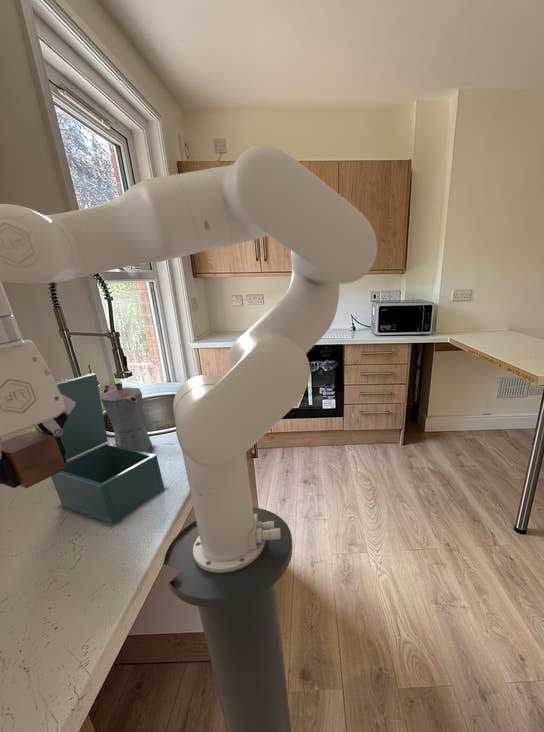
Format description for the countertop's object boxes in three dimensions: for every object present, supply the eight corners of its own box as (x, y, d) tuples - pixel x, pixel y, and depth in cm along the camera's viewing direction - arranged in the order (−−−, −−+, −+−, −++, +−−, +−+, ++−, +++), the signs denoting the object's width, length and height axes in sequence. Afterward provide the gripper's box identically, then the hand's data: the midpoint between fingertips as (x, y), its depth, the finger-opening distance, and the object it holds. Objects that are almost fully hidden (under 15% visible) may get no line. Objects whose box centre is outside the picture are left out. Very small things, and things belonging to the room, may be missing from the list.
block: (44, 462, 49) (31, 430, 47) (67, 468, 48) (54, 435, 46) (3, 481, 45) (-13, 447, 43) (26, 488, 43) (10, 453, 41)
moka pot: (135, 467, 87) (114, 392, 80) (100, 453, 95) (78, 383, 87) (167, 451, 95) (151, 381, 87) (133, 439, 102) (115, 373, 94)
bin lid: (96, 374, 73) (78, 367, 75) (28, 392, 62) (9, 385, 64) (107, 441, 80) (91, 434, 82) (48, 468, 70) (31, 459, 71)
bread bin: (164, 489, 78) (156, 454, 75) (112, 525, 67) (100, 486, 64) (116, 475, 84) (107, 442, 81) (62, 505, 74) (48, 469, 70)
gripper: (-120, 354, 31) (-29, 519, 38) (74, 324, 45) (112, 448, 52) (-154, 349, 33) (-64, 504, 40) (38, 323, 48) (80, 440, 55)
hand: (35, 471), depth 46 cm, fingers closed on block, 5 cm apart
